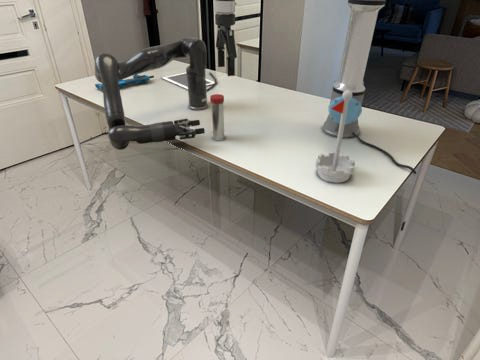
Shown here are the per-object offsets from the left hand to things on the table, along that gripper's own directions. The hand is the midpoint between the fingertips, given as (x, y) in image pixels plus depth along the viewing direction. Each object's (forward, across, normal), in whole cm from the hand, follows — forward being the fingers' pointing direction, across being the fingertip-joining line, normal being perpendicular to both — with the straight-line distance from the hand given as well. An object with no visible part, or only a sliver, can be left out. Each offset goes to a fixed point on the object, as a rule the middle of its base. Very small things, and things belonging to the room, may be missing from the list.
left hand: (202, 126), depth 139 cm
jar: (+7, 0, +6) cm, 9 cm away
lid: (+7, 0, -12) cm, 13 cm away
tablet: (+11, +84, +6) cm, 84 cm away
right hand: (+13, +7, -19) cm, 24 cm away
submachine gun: (-27, +92, +6) cm, 96 cm away
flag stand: (+37, -41, +6) cm, 56 cm away
